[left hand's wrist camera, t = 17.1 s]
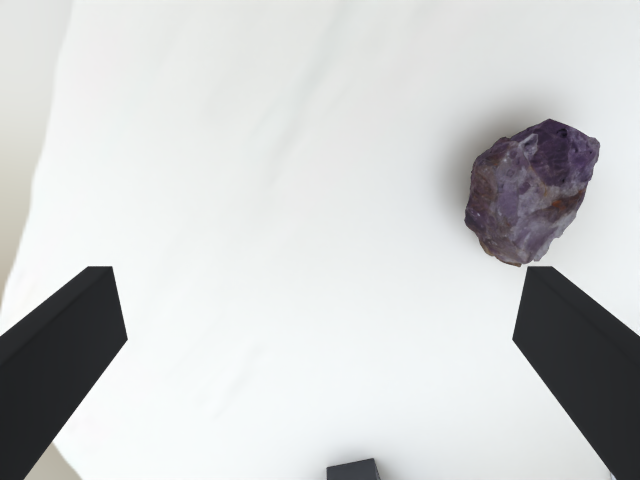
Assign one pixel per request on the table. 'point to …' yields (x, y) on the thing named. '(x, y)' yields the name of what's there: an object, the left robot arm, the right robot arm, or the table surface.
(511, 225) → the rock
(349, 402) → the table surface
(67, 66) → the table surface
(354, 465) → the box
